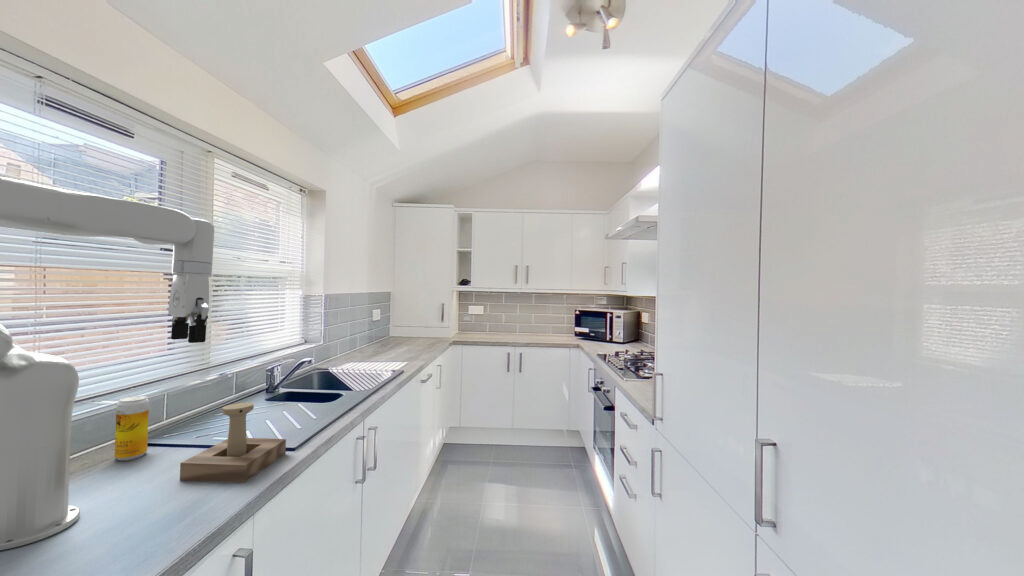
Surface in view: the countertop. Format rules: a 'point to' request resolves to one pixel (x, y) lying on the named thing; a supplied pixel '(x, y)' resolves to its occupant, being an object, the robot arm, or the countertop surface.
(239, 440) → the tan flared peg
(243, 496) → the countertop surface
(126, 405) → the beer can
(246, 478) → the keyed socket block
